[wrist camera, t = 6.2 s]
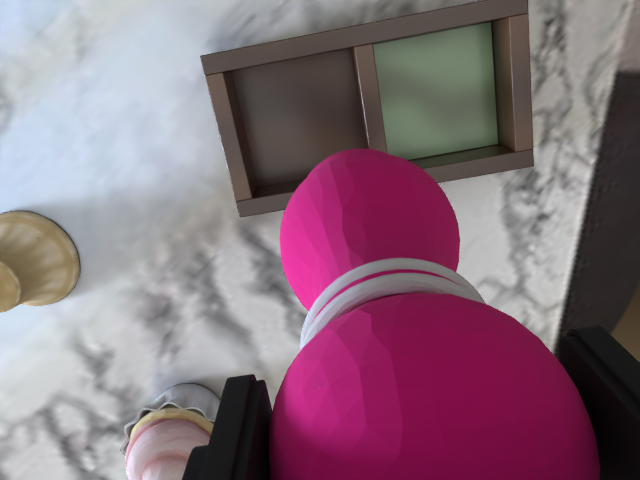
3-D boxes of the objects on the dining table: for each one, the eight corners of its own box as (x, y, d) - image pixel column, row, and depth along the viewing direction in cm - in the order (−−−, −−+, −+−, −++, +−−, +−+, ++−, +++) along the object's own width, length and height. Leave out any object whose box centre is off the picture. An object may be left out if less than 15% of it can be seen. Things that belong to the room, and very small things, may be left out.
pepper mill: (295, 284, 26) (235, 885, 7) (277, 145, 23) (109, 498, 5) (435, 271, 26) (756, 854, 7) (430, 129, 23) (917, 431, 4)
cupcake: (125, 428, 47) (75, 521, 37) (162, 352, 44) (118, 432, 34) (216, 465, 48) (191, 563, 39) (258, 393, 45) (242, 480, 36)
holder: (213, 56, 36) (199, 55, 32) (503, 0, 34) (527, -9, 30) (247, 201, 39) (239, 217, 35) (511, 155, 38) (534, 166, 34)
